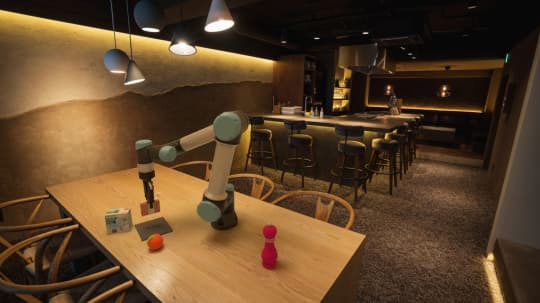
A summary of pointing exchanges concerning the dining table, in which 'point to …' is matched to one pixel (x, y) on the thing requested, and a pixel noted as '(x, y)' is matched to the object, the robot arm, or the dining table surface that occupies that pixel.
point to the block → (145, 207)
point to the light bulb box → (118, 220)
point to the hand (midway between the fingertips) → (150, 212)
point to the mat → (153, 228)
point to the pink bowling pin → (269, 247)
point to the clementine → (155, 241)
